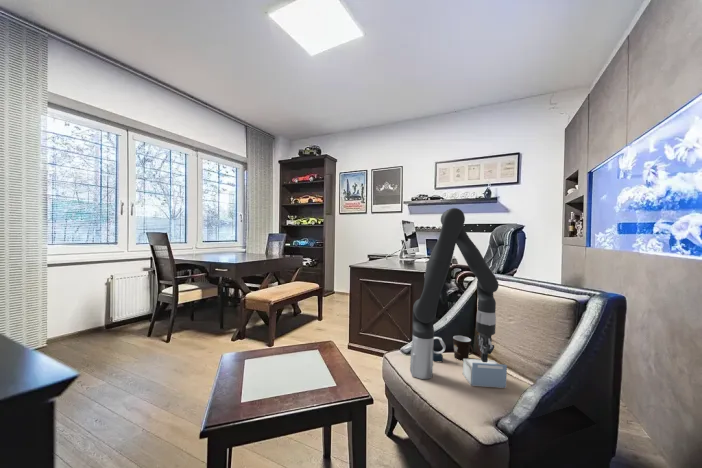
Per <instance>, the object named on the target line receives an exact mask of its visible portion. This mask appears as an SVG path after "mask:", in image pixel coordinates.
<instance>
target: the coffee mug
mask: <svg viewBox="0 0 702 468" xmlns="http://www.w3.org/2000/svg"><path fill="white" fill-rule="evenodd" d="M452 342H453V353H454V359H456V360H457V359H458V360H457V361H461V360H462V362H463V359H469V356H470V355H472V354H473V353H474V348H473V347H472V345H471V343H472V339H471V338H469V337H468V336H463V335H454V336H453V337H452ZM470 349H471V352H470Z"/></svg>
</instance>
